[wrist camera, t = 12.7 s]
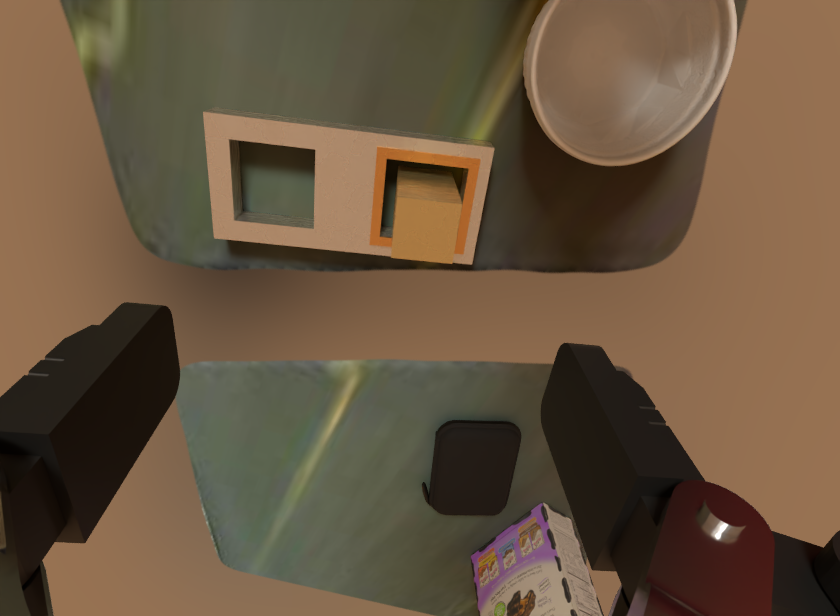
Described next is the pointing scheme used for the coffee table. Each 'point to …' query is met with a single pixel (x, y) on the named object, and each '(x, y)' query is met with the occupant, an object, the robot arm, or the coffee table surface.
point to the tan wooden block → (425, 215)
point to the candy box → (534, 570)
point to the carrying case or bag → (473, 467)
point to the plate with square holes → (336, 180)
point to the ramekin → (626, 73)
